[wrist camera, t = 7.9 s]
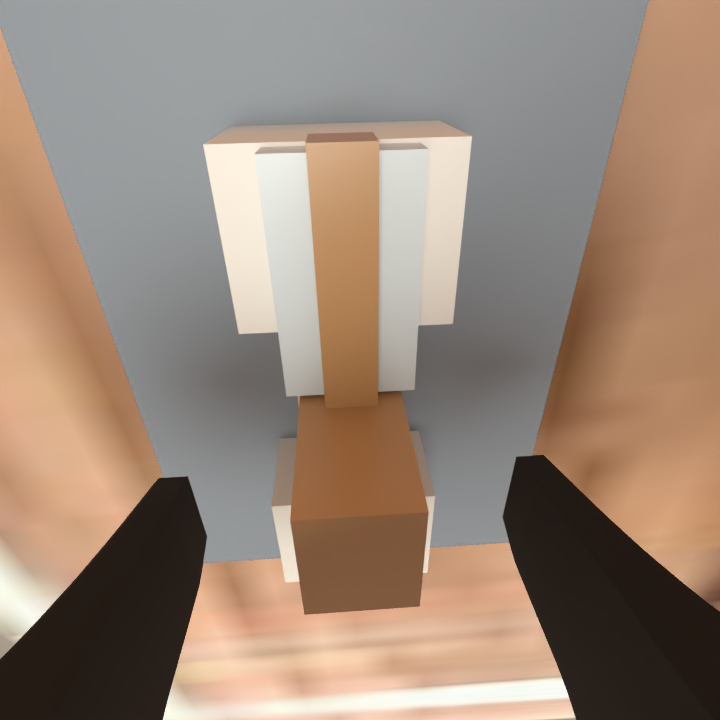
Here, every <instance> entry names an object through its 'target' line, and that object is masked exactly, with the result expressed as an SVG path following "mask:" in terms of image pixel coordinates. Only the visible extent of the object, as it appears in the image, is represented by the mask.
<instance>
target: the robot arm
mask: <svg viewBox="0 0 720 720" xmlns="http://www.w3.org/2000/svg"><path fill="white" fill-rule="evenodd" d="M503 521H504V525H505V528H506V532H507V536H508V539H509V543H510V546H511V550H512V553H513V557H514V560H515V563H516V566H517V568H518V571H519V573H520V576H521V578H522V581H523V583H524V585H525V588H526V590H527V593H528V595H529V598H530V600H531V603H532V605H533V607H534V610H535V612H536V615H537V617H538V619H539V622H540V624H541V627H542V629H543V632H544V634H545V636H546V639H547V641H548V644H549V646H550V648H551V651H552V653H553V656H554V658H555V661H556V663H557V665H558V668H559V670H560V673H561V676H562V679H563V681H564V684H565V687H566V689H567V692H568V695H569V698H570V701H571V704H572V707H573V711H574V714H575V717H576V720H720V612H719V611H718V610H717V609H715V608H714V607H713V606H711V605H710V604H709V603H707V602H706V601H705V600H703V599H702V598H701V597H700V596H698V595H697V594H696V593H695V592H693V591H692V590H691V589H690V588H688V587H687V586H686V585H685V584H683V583H682V582H681V581H680V580H679V579H677V578H676V577H675V576H674V575H673V574H671V573H670V572H669V571H668V570H667V569H665V568H664V567H663V566H662V565H661V564H660V563H658V562H657V561H656V560H655V559H654V558H652V557H651V556H650V555H649V554H648V553H647V552H646V551H644V550H643V549H642V548H641V547H640V546H639V545H638V544H636V543H635V542H634V541H633V540H632V539H631V538H630V537H629V536H628V535H627V534H626V533H624V532H623V531H622V530H621V529H620V528H619V527H618V526H617V525H616V524H615V523H614V522H612V521H611V520H610V519H609V518H608V517H607V516H606V515H605V514H604V513H603V512H602V511H601V510H600V509H599V508H597V507H596V506H595V505H594V504H593V503H592V502H591V501H590V500H589V499H588V498H587V497H586V496H585V495H584V494H583V493H582V492H581V491H580V490H579V489H578V488H577V487H576V486H575V485H574V484H573V483H572V482H571V481H570V480H569V479H568V478H567V477H565V476H564V475H563V474H562V473H561V472H560V471H559V470H558V469H557V468H556V467H555V466H554V465H553V464H552V463H551V462H550V461H549V460H548V459H547V458H546V457H545V456H544V455H535V456H518V457H516V460H515V465H514V469H513V473H512V478H511V482H510V486H509V491H508V495H507V499H506V504H505V508H504V512H503ZM206 541H207V534H206V531H205V528H204V525H203V522H202V519H201V516H200V513H199V509H198V506H197V503H196V500H195V497H194V494H193V491H192V488H191V485H190V481H189V478H188V476H186V477H169V478H159V479H158V480H157V481H156V482H155V483H154V484H153V486H152V487H151V488H150V489H149V491H148V492H147V493H146V494H145V496H144V497H143V498H142V499H141V501H140V502H139V503H138V504H137V506H136V507H135V508H134V509H133V511H132V512H131V513H130V514H129V516H128V517H127V518H126V519H125V521H124V522H123V523H122V524H121V526H120V527H119V528H118V529H117V530H116V532H115V533H114V534H113V535H112V537H111V538H110V539H109V540H108V541H107V543H106V544H105V545H104V546H103V547H102V549H101V550H100V551H99V552H98V553H97V554H96V556H95V557H94V558H93V559H92V560H91V562H90V563H89V564H88V565H87V566H86V567H85V569H84V570H83V571H82V572H81V573H80V574H79V576H78V577H77V578H76V579H75V580H74V581H73V582H72V584H71V585H70V586H69V587H68V588H67V589H66V590H65V591H64V592H63V593H62V594H61V596H60V597H59V598H58V599H57V600H56V601H55V602H54V603H53V604H52V605H51V607H50V608H49V609H48V610H47V611H46V612H45V613H44V614H43V615H42V616H41V618H40V619H39V620H38V621H37V622H36V623H35V624H34V625H33V626H32V627H31V628H30V629H29V630H28V631H27V632H26V633H25V634H24V635H23V636H22V638H21V639H20V640H19V641H18V642H17V643H16V644H15V645H14V646H13V647H12V648H11V649H10V650H9V651H8V652H7V653H6V654H5V655H4V656H3V657H2V658H1V659H0V720H163V716H164V712H165V708H166V704H167V700H168V696H169V692H170V689H171V685H172V682H173V678H174V675H175V671H176V668H177V664H178V660H179V657H180V653H181V650H182V646H183V643H184V639H185V635H186V632H187V628H188V625H189V621H190V618H191V614H192V610H193V607H194V603H195V599H196V596H197V592H198V588H199V584H200V579H201V573H202V567H203V561H204V554H205V547H206Z"/></svg>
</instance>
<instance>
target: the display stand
mask: <svg viewBox="0 0 720 720" xmlns="http://www.w3.org/2000/svg"><path fill="white" fill-rule="evenodd" d="M648 1H649V0H0V29H1V31H2V34H3V37H4V40H5V42H6V45H7V48H8V51H9V53H10V56H11V59H12V62H13V64H14V67H15V70H16V73H17V75H18V78H19V81H20V84H21V86H22V89H23V92H24V95H25V97H26V100H27V103H28V106H29V108H30V111H31V114H32V117H33V119H34V122H35V125H36V128H37V130H38V133H39V136H40V139H41V141H42V144H43V147H44V150H45V152H46V155H47V158H48V161H49V163H50V166H51V169H52V172H53V174H54V177H55V180H56V183H57V186H58V188H59V191H60V194H61V197H62V199H63V202H64V205H65V208H66V210H67V213H68V216H69V219H70V221H71V224H72V227H73V230H74V232H75V235H76V238H77V241H78V243H79V246H80V249H81V252H82V254H83V257H84V260H85V263H86V265H87V268H88V271H89V274H90V276H91V279H92V282H93V285H94V287H95V290H96V293H97V296H98V298H99V301H100V304H101V307H102V309H103V312H104V315H105V318H106V320H107V323H108V326H109V329H110V331H111V334H112V337H113V340H114V342H115V345H116V348H117V351H118V353H119V356H120V359H121V362H122V364H123V367H124V370H125V373H126V375H127V378H128V381H129V384H130V387H131V389H132V392H133V395H134V398H135V400H136V403H137V406H138V409H139V411H140V414H141V417H142V420H143V422H144V425H145V428H146V431H147V433H148V436H149V439H150V442H151V444H152V447H153V450H154V453H155V455H156V458H157V461H158V464H159V466H160V469H161V472H162V475H163V477H164V478H169V477H186V476H188V478H189V481H190V485H191V488H192V491H193V494H194V497H195V500H196V503H197V506H198V509H199V513H200V516H201V519H202V522H203V525H204V528H205V531H206V534H207V541H206V547H205V554H204V561H203V563H215V562H230V561H244V560H259V559H274V558H281V560H282V565H283V570H284V576H285V581H286V582H299V575H298V569H297V562H296V556H295V549H294V543H293V536H292V530H291V524H290V515H291V503H292V490H293V478H294V465H295V453H296V440H297V428H298V415H299V402H300V396H287V397H286V390H285V382H284V374H283V367H282V359H281V352H280V344H279V337H278V329H277V321H276V314H275V306H274V299H273V291H272V284H271V276H270V268H269V261H268V253H267V246H266V238H265V231H264V223H263V215H262V208H261V200H260V193H259V185H258V178H257V170H256V162H255V155H254V154H255V153H256V151H257V150H258V149H259V148H260V147H279V146H306V144H305V143H306V139H307V135H308V134H317V133H354V132H373V133H374V134H375V136H376V137H377V138H378V140H379V144H385V143H420V142H421V143H422V144H423V145H424V146H426V147H427V148H428V149H429V152H428V169H427V186H426V203H425V220H424V237H423V254H422V270H421V287H420V304H419V321H418V338H417V355H416V372H415V389H414V390H403V391H401V393H402V398H403V402H404V406H405V411H406V415H407V419H408V424H409V428H410V433H411V437H412V441H413V446H414V450H415V454H416V459H417V463H418V467H419V472H420V476H421V480H422V485H423V489H424V494H425V498H426V502H427V507H428V511H429V515H428V525H427V535H426V545H425V556H424V566H423V573H427V570H428V561H429V551H430V548H436V547H451V546H465V545H480V544H495V543H509V539H508V536H507V532H506V528H505V525H504V521H503V512H504V508H505V504H506V499H507V495H508V491H509V486H510V482H511V478H512V473H513V469H514V465H515V460H516V457H518V456H532V455H533V451H534V447H535V443H536V439H537V435H538V431H539V427H540V423H541V419H542V416H543V412H544V408H545V404H546V400H547V396H548V392H549V388H550V384H551V380H552V376H553V372H554V369H555V365H556V361H557V357H558V353H559V349H560V345H561V341H562V337H563V333H564V329H565V325H566V322H567V318H568V314H569V310H570V306H571V302H572V298H573V294H574V290H575V286H576V282H577V279H578V275H579V271H580V267H581V263H582V259H583V255H584V251H585V247H586V243H587V239H588V235H589V232H590V228H591V224H592V220H593V216H594V212H595V208H596V204H597V200H598V196H599V192H600V188H601V185H602V181H603V177H604V173H605V169H606V165H607V161H608V157H609V153H610V149H611V145H612V141H613V138H614V134H615V130H616V126H617V122H618V118H619V114H620V110H621V106H622V102H623V98H624V95H625V91H626V87H627V83H628V79H629V75H630V71H631V67H632V63H633V59H634V55H635V51H636V48H637V44H638V40H639V36H640V32H641V28H642V24H643V20H644V16H645V12H646V8H647V4H648Z"/></svg>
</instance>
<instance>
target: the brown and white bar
mask: <svg viewBox="0 0 720 720" xmlns="http://www.w3.org/2000/svg"><path fill="white" fill-rule="evenodd" d="M305 144H306V146H279V147H260V148H259V149H258V150H257V151H256V153H255V154H254V155H255V162H256V170H257V178H258V185H259V193H260V200H261V208H262V215H263V223H264V231H265V238H266V246H267V253H268V261H269V268H270V276H271V284H272V291H273V299H274V306H275V314H276V321H277V329H278V337H279V344H280V352H281V359H282V367H283V374H284V382H285V390H286V397H287V396H300V402H299V415H298V428H297V440H296V453H295V465H294V478H293V490H292V503H291V515H290V524H291V530H292V536H293V543H294V549H295V556H296V562H297V569H298V575H299V581H300V588H301V594H302V601H303V607H304V614H305V615H306V614H320V613H334V612H348V611H361V610H375V609H389V608H403V607H417V606H420V597H421V586H422V576H423V566H424V556H425V545H426V535H427V525H428V515H429V511H428V507H427V502H426V498H425V494H424V489H423V485H422V480H421V476H420V472H419V467H418V463H417V459H416V454H415V450H414V446H413V441H412V437H411V433H410V428H409V424H408V419H407V415H406V411H405V406H404V402H403V398H402V393H401V391H403V390H414V389H415V372H416V355H417V338H418V321H419V304H420V287H421V270H422V254H423V237H424V220H425V203H426V186H427V169H428V152H429V149H428V148H427V147H426V146H424V145H423V144H422V143H421V142H420V143H385V144H379V140H378V138H377V137H376V136H375V134H374V133H373V132H354V133H317V134H308V135H307V139H306V143H305Z"/></svg>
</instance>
